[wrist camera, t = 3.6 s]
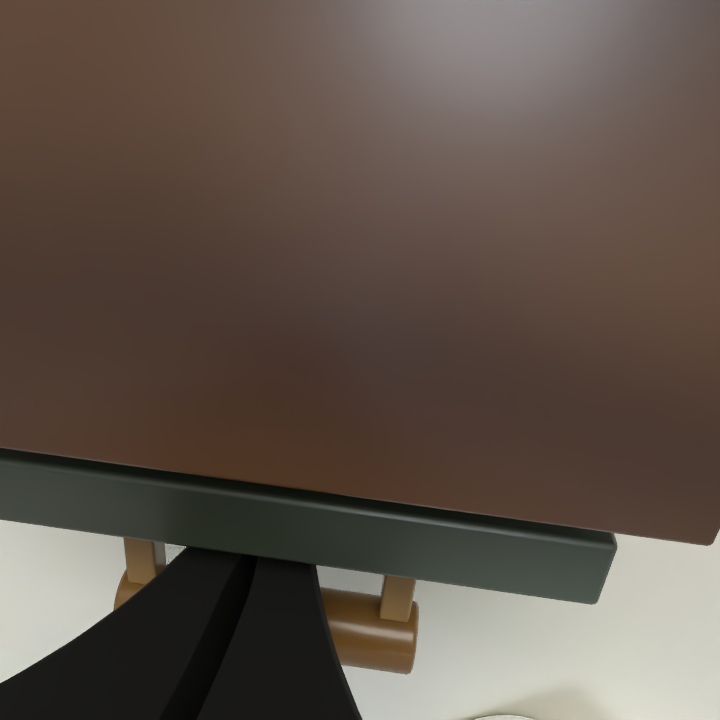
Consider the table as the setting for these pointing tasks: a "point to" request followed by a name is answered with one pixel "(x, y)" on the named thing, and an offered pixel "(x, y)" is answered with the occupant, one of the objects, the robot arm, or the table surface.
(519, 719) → the mug
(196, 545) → the drawer
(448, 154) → the cabinet
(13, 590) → the table surface
